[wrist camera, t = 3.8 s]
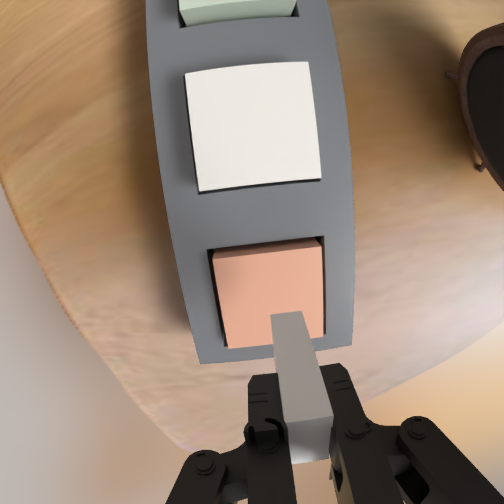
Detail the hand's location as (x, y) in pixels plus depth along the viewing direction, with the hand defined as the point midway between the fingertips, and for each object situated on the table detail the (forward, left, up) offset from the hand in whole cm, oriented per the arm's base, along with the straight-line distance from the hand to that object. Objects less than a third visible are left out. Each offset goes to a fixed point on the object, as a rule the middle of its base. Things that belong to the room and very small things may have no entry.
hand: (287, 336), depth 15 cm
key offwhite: (0, -10, -6) cm, 12 cm away
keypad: (0, -10, -9) cm, 14 cm away
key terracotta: (0, 0, -7) cm, 7 cm away
